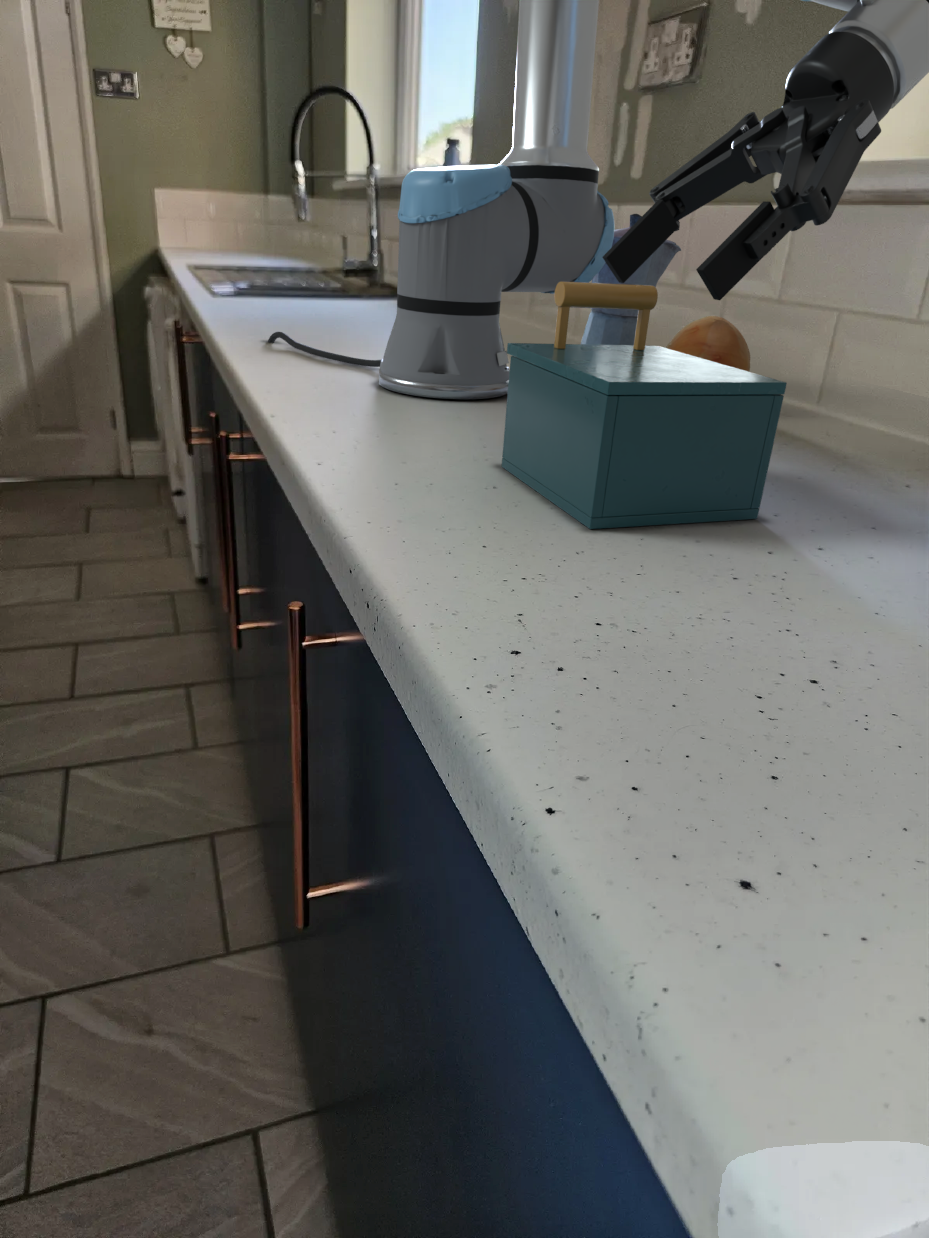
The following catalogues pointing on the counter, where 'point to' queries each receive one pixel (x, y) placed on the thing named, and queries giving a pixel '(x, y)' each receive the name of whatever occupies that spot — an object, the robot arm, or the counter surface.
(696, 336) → the onion
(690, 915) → the counter surface
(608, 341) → the moka pot
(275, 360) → the counter surface
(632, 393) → the box lid
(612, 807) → the counter surface
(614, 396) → the storage box
